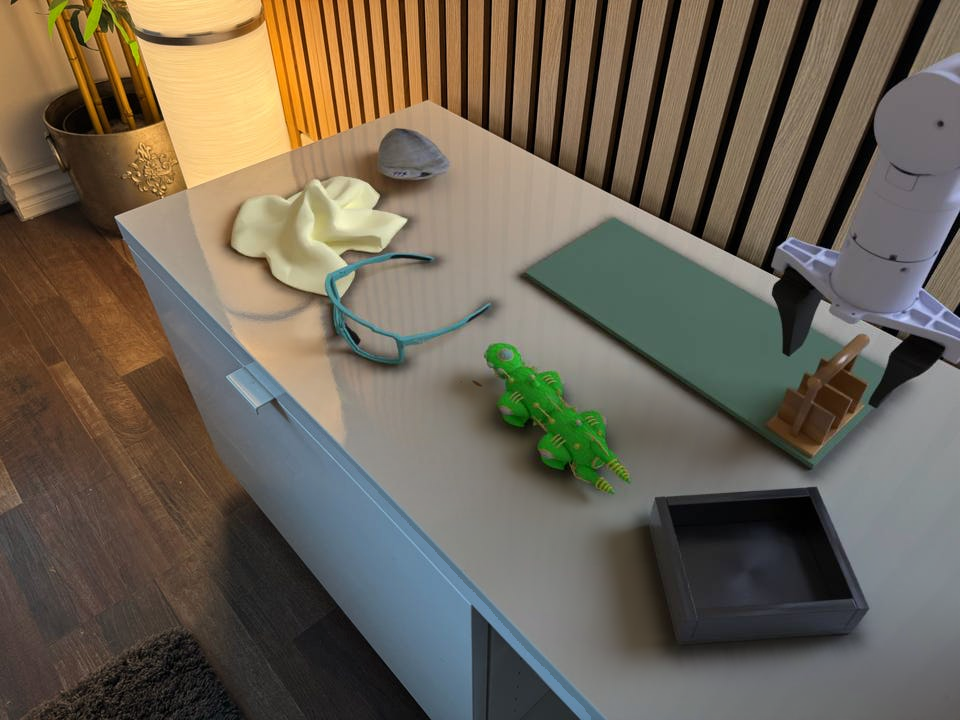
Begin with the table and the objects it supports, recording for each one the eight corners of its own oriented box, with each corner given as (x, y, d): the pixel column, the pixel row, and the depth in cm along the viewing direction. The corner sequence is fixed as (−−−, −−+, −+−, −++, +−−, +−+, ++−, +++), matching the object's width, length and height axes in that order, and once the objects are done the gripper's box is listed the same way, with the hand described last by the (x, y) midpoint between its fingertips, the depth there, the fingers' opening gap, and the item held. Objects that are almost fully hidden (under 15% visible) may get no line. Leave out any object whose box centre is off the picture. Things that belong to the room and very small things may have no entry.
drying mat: (899, 382, 68) (901, 378, 67) (812, 469, 62) (814, 465, 61) (613, 221, 86) (614, 217, 86) (524, 276, 80) (524, 271, 80)
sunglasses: (303, 310, 77) (297, 270, 74) (422, 262, 84) (422, 223, 81) (379, 388, 69) (376, 347, 66) (503, 327, 77) (506, 288, 73)
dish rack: (816, 379, 68) (842, 318, 62) (863, 407, 65) (894, 346, 60) (764, 426, 64) (786, 366, 59) (811, 458, 62) (839, 398, 56)
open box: (803, 514, 59) (817, 486, 56) (851, 633, 52) (870, 608, 49) (648, 524, 59) (654, 496, 56) (677, 645, 52) (686, 620, 49)
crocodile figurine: (520, 352, 72) (520, 319, 69) (651, 479, 61) (657, 447, 58) (462, 382, 70) (459, 349, 67) (588, 520, 59) (591, 488, 56)
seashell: (357, 164, 96) (351, 128, 93) (413, 143, 100) (409, 108, 96) (405, 207, 90) (400, 170, 86) (463, 183, 93) (461, 146, 89)
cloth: (209, 218, 89) (193, 172, 85) (349, 166, 96) (341, 121, 92) (287, 321, 76) (273, 274, 72) (442, 253, 83) (438, 206, 79)
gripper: (766, 215, 53) (728, 351, 63) (975, 317, 45) (894, 454, 55) (822, 176, 56) (777, 311, 66) (1027, 265, 48) (941, 403, 58)
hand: (833, 373), depth 61 cm, fingers open, 7 cm apart
